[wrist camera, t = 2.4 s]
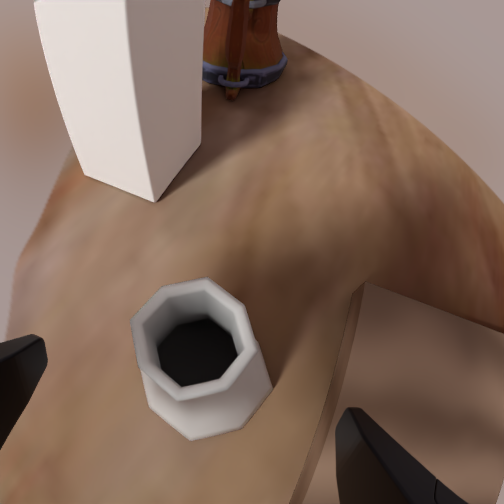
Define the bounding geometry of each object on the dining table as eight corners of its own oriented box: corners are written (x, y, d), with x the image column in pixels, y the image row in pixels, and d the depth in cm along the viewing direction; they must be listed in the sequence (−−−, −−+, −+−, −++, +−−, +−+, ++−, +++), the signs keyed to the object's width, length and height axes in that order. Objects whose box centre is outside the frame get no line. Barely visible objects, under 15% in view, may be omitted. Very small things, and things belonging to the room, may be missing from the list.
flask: (119, 352, 16) (31, 286, 7) (223, 293, 19) (234, 181, 10) (186, 460, 14) (152, 520, 5) (294, 392, 16) (381, 367, 8)
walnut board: (467, 530, 11) (484, 534, 9) (276, 532, 12) (283, 545, 10) (506, 347, 19) (522, 341, 17) (352, 293, 20) (365, 281, 18)
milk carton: (202, 144, 25) (215, -90, 8) (155, 205, 21) (124, -91, 5) (134, 123, 25) (116, -78, 9) (84, 176, 22) (25, -55, 5)
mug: (289, 134, 26) (331, -23, 13) (161, 122, 26) (154, -37, 13) (283, 54, 35) (304, -44, 22) (197, 46, 34) (203, -54, 21)
